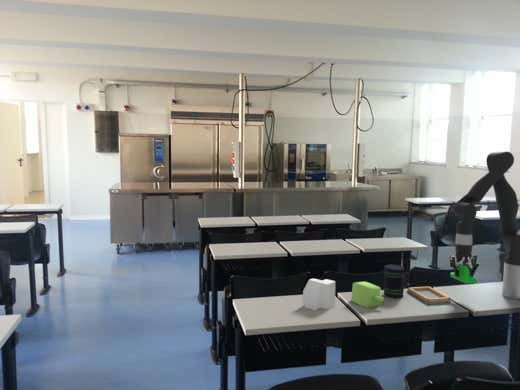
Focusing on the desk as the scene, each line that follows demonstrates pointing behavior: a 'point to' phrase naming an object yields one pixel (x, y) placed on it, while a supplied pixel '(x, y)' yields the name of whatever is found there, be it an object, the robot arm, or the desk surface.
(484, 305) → the desk surface
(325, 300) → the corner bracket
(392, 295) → the storage jar
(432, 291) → the fitting jig
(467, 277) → the mechanical part
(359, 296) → the gearbox
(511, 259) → the robot arm
